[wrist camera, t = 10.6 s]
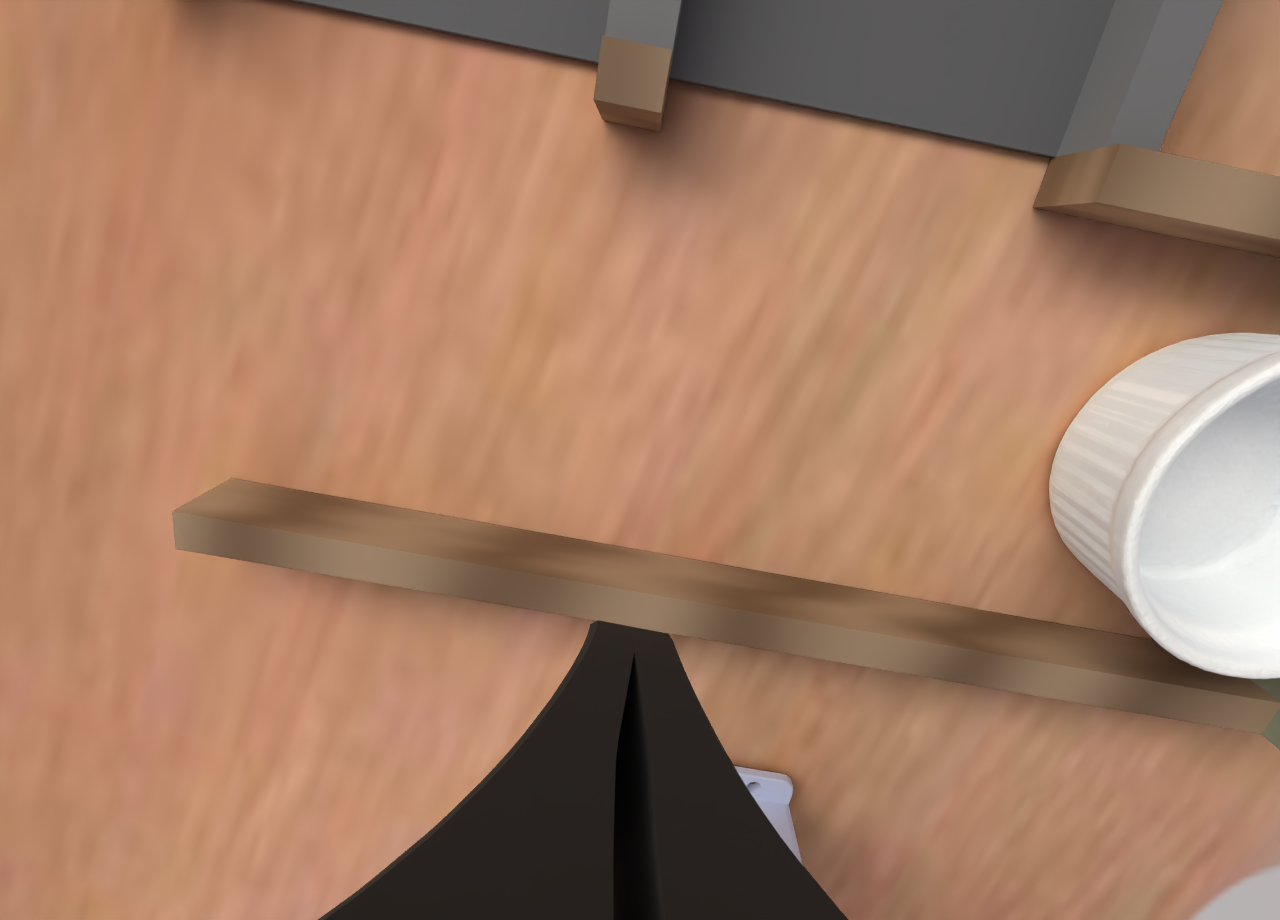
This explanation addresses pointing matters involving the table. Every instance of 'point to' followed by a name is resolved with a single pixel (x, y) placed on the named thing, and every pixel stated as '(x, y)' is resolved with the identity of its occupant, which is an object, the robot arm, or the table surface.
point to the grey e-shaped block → (887, 56)
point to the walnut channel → (771, 603)
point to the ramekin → (1184, 498)
